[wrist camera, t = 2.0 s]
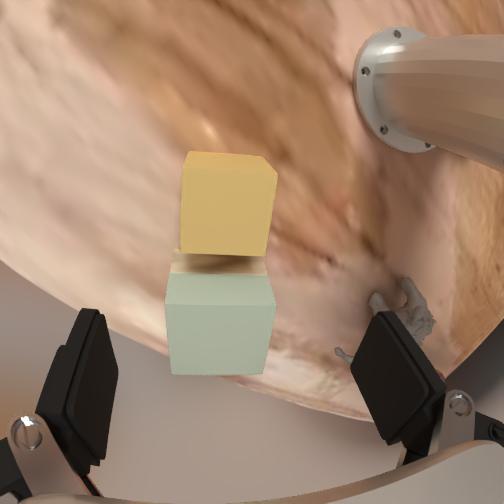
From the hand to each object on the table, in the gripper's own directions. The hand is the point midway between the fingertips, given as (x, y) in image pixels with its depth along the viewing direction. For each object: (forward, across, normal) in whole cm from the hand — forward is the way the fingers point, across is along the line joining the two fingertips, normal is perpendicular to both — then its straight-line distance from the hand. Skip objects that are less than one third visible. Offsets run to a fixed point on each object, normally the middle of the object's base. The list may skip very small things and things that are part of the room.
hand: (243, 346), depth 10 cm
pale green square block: (+14, 0, +10) cm, 17 cm away
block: (+18, 0, 0) cm, 18 cm away
